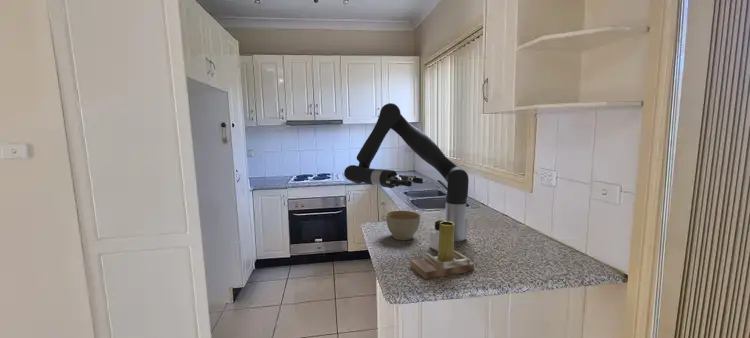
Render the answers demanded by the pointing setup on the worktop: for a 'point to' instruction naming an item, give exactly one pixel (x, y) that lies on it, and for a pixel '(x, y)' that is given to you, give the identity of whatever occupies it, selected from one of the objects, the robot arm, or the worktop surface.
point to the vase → (446, 242)
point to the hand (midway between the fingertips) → (417, 182)
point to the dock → (441, 266)
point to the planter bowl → (402, 224)
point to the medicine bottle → (435, 236)
